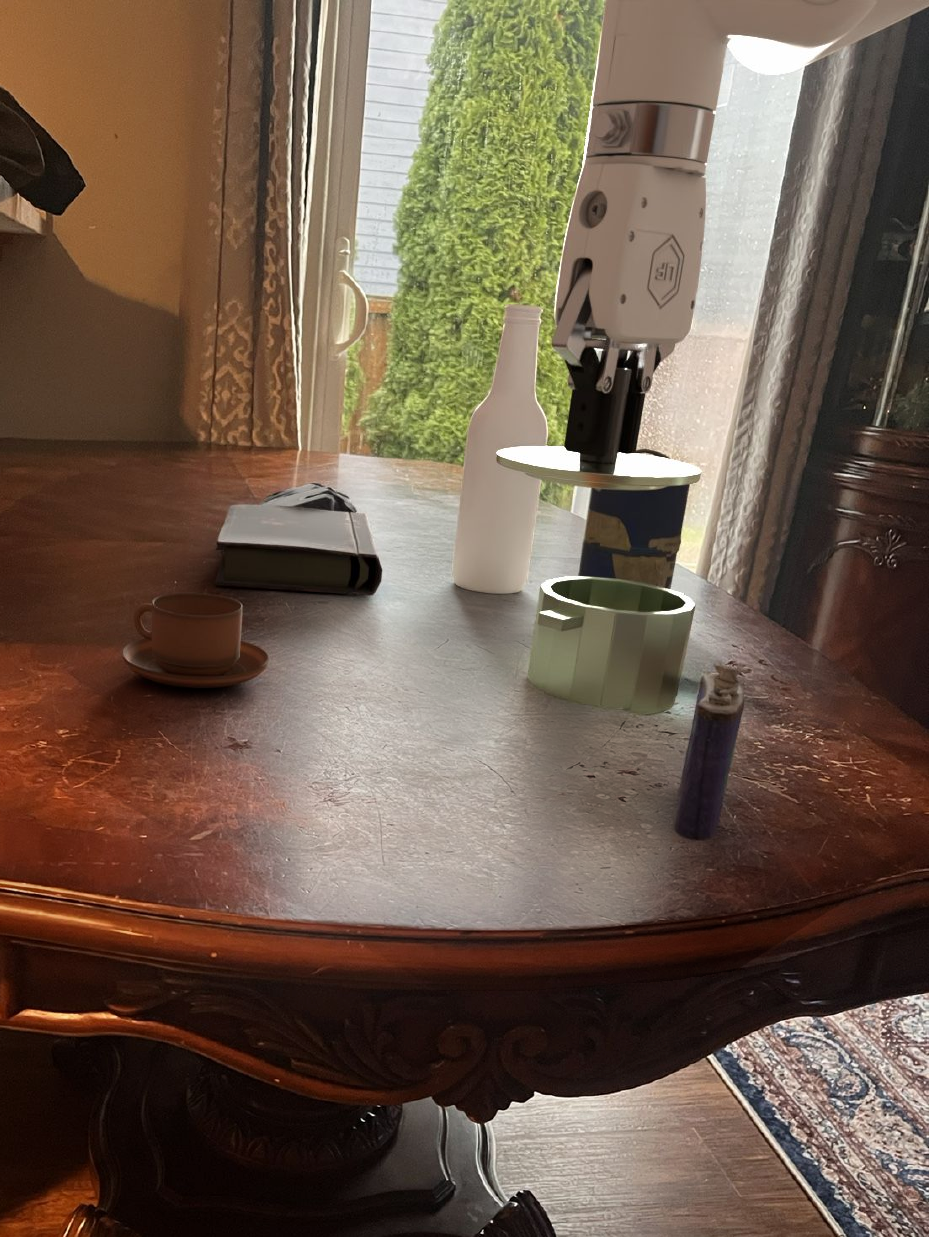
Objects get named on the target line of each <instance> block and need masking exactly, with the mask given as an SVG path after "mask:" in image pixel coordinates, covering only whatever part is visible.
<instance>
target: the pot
mask: <svg viewBox="0 0 929 1237" xmlns="http://www.w3.org/2000/svg"><path fill="white" fill-rule="evenodd" d="M538 592H539V593H538V599H537V606H536V612H535V613H536V614H535V618H534V619H535V620H534V626H533V634H532V639H531V647H530V654H529V660H528V668H527V674H526V675H527V678H528V680H529V683H530V684H531V685H533V686H534V687H536V688H537V689H539V690H541V691H542V692H543V693H545V694H548V695H551V696H554V697H556V698H559V699H562V700H566V701H567V702H571V703H577V704H581V705H587V706H592V707H596V708H604V709H616V710H623V711H626V712H629V713H632V714H635V715H638V716H646V715H654V714H658V713H662V712H663V713H664V712H665V711H667V710H669V709H672V708H673V706H675V703H676V698H677V697H678V694H679V689H680V684H681V679H682V675H683V669H684V664H685V660H686V655H687V649H688V644H689V639H690V635H691V631H692V630H691V629H692V624H693V620H694V616H695V610H696V603H695V602H694V601H693V600H692V599H691V598H690V597H689V596H686V594H685V593H684V592H680V591H675V590H672V589H666V588H662V587H658V586H654V585H650V584H646V583H641V582H634V581H628V580H622V579H612V578H600V577H578V576H564V577H557V578H553V579H547V580H546V581H545V582H543V583H542V584H540V586H539V591H538Z"/></svg>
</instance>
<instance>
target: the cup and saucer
mask: <svg viewBox="0 0 929 1237" xmlns="http://www.w3.org/2000/svg"><path fill="white" fill-rule="evenodd" d="M146 612H150V613H151V631H149V630H147V629H145V627H144V625H143V623H142V617H143V614H144V613H146ZM133 623H134V628H135V629H136V631H137V633H138V634H139V635H140V636H141V637H142V638H140V639H137V640H134V641H132V642H130V643H129V644H127V645H126V646H124V648H123V649H122V660H123V661H124V663H125V665H126V666H127V667H128V668H129V669H130V670H131V671H132V672H134V673H135V674H136V675H138V676H140V677H142V678H144V679H147V680H149V681H152V682H155V683H159V684H163V685H166V686H173V687H179V688H187V689H189V688H190V689H214V688H224V687H229V686H235V685H240V684H242V683H246V682H248V681H250V680H252V679H254V678H257V676H259V675H260V674H261V673H262V672H264V670H266V668H267V667H268V664H269V658H270V657H269V655H268V653H267V652H266V651H265V650H264V649H263V648H261V647H259V646H258V645H255V644H253V643H250V642H248V641H244V640H241V639H242V625H243V624H242V623H243V604H242V603H241V602H240V601H239V600H237V599H235V598H232V597H229V596H225V595H220V594H214V593H205V592H176V593H175V592H174V593H168V594H163V595H159V596H157V597H155V598H153V599H152V600H151V603H143V604H140V605H138V607H137V608H136V609H135V612H134V615H133Z"/></svg>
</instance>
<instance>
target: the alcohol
mask: <svg viewBox="0 0 929 1237" xmlns="http://www.w3.org/2000/svg"><path fill="white" fill-rule="evenodd" d="M504 311H505V313H504V316H503V317H502V322H503V327H502V333H501V337H500V343H499V347H498V351H497V352H498V353H497V358H496V362H495V368H494V373H493V379H492V384H491V387H490V389H489V390H488V391H489V392H488V394H487V396H486V397H485V398H484V399H483V400H482V401H481V402H480V404H478V406H476V408H475V409H474V411H473V412H472V415H471V417H470V420H469V423H468V426H467V432H466V441H465V449H464V450H465V451H464V458H463V468H462V475H461V484H460V493H459V501H458V503H459V504H458V509H457V510H458V512H457V518H456V519H457V520H456V528H455V538H454V547H453V555H452V562H451V572H450V575H451V578H452V579H453V582H454V584H455V585H456V586H457V587H459V588H462V589H464V590H469V591H472V592H478V593H483V594H484V593H485V594H495V595H498V594H499V595H507V594H514V593H515V594H516V593H519V592H520V591H522V590H523V588H525V586H526V585H527V583H528V578H529V571H530V565H531V564H530V563H531V556H532V551H533V543H534V538H535V537H534V536H535V529H536V523H537V515H538V508H539V501H540V493H541V486H542V481H543V480H540V479H536V478H533V477H530V476H528V475H526V474H525V473H524V472H521V471H517V470H513V469H510V468H507V467H504V466H502V465H500V464H499V463H497V461H496V457H497V452H498V451H500V450H502V449H506V448H514V447H547V446H548V445H547V444H548V439H549V438H548V436H549V429H548V419H547V416H546V414H545V412H544V410H543V408H542V406H541V405H540V403H539V402H538V399H537V393H536V383H537V382H536V380H537V364H538V350H539V349H538V347H539V333H540V332H539V331H540V329H539V328H540V326H541V324H542V319H541V314H542V313H543V308H542V307H541V306H539V305H526V304H511V303H507V304H506V305H505V306H504Z"/></svg>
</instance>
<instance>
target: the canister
mask: <svg viewBox="0 0 929 1237" xmlns="http://www.w3.org/2000/svg"><path fill="white" fill-rule="evenodd" d="M633 454H648V455H651V456H653V457H658V458H664V459H669V460H672V458H670V457H669V456H668V455H666V454H664V453H662V452H660V451H657V450H653V449H649V448H640V449H636V451H635V452H634V453H633ZM690 485H691V484H688V485H679V486H667V487H665V488H662V489H657V490H611V489H598V488H590V493H589V499H588V500H589V501H588V506H587V514H586V520H585V527H584V534H583V539H582V544H581V552H580V557H579V558H580V559H579V568H578V573H577V577H600V578H612V579H622V580H628V581H634V582H641V583H646V584H650V585H654V586H658V587H662V588H666V589H670V590H672V584H673V577H674V574H675V573H674V572H675V567H676V561H677V555H678V553H679V551H680V547H681V544H682V531H683V525H684V520H685V519H684V518H685V515H686V509H687V505H688V504H687V503H688V498H689V491H690V487H691V486H690Z"/></svg>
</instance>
